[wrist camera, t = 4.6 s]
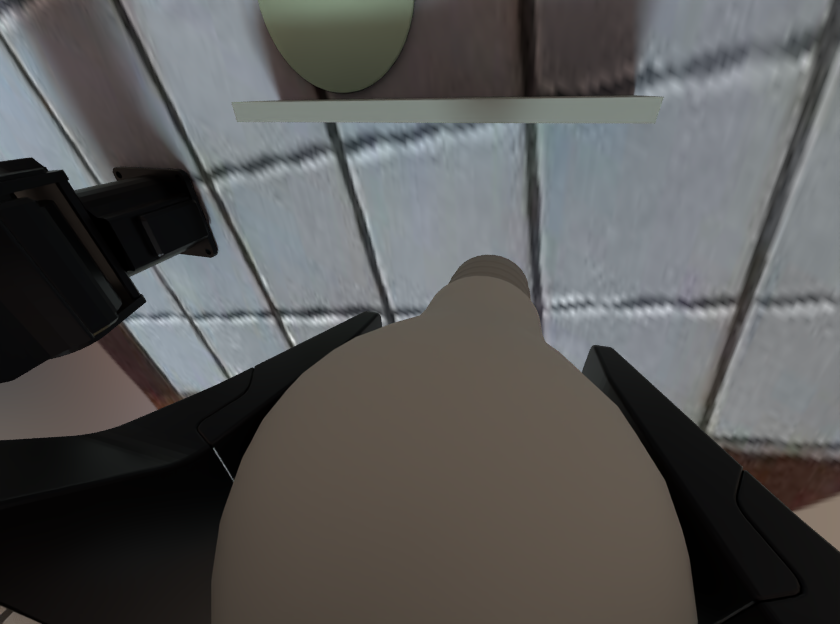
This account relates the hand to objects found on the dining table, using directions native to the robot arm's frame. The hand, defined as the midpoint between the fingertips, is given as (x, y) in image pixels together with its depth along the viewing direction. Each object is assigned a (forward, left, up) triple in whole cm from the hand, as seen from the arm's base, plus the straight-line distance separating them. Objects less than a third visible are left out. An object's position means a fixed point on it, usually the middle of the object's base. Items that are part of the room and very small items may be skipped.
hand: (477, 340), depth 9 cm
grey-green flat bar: (-4, +5, -12) cm, 14 cm away
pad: (-9, +9, -12) cm, 18 cm away
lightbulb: (0, 0, -4) cm, 4 cm away
